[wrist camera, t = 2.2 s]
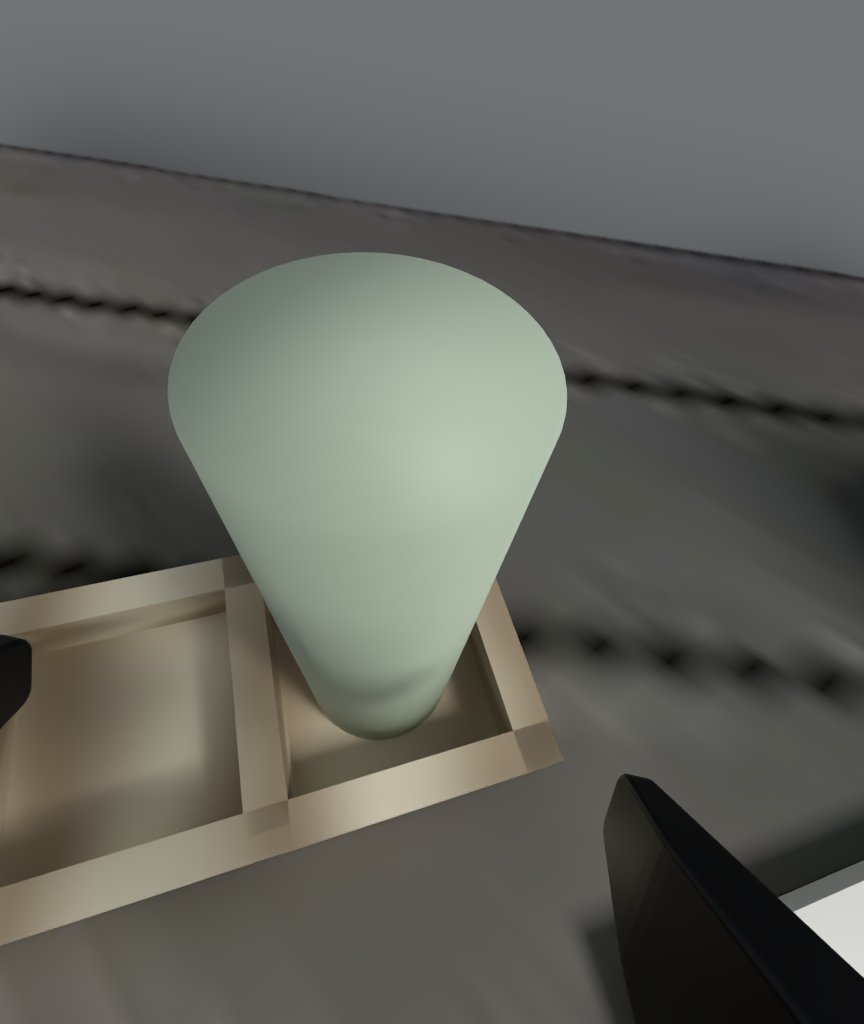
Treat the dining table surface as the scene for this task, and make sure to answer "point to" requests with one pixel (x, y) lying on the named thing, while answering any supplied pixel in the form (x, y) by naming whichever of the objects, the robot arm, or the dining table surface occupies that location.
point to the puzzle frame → (215, 742)
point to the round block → (369, 462)
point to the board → (835, 911)
